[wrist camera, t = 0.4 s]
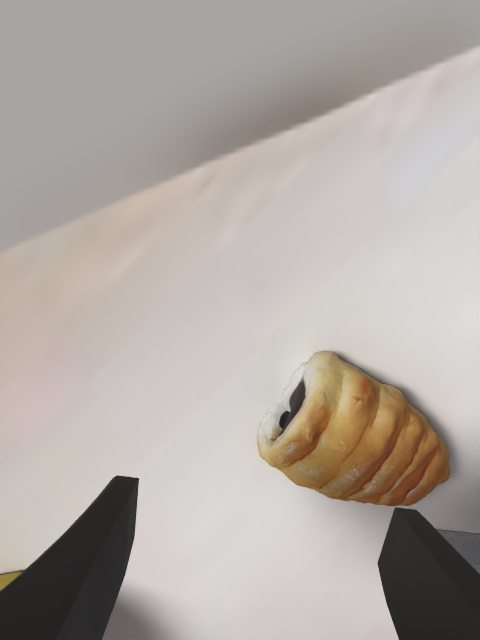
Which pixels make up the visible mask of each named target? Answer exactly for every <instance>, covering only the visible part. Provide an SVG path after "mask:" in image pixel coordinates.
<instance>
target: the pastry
mask: <svg viewBox="0 0 480 640" xmlns="http://www.w3.org/2000/svg"><path fill="white" fill-rule="evenodd" d="M257 443H258V450H259V454H260V456H261V458H262V459H264V460H265V461H266V462H267V463H268V464H269V465H270V466H271V467H276V468H277V469H279V470H281V471H282V472H283V473H284V474H285V475H286V476H287V477H288V478H289V479H290V480H291V481H292V482H294V483H295V484H297V485H299V486H303V487H307V488H310V489H314V490H316V491H318V492H319V493H322V494H324V495H325V496H327V497H329V498H333V499H340V500H344V501H350V500H354V501H357V502H362V503H373V504H376V505H387V506H395V505H405V506H409V505H412V504H414V503H417V502H418V501H420V500H421V499H422V498H424V497H425V496H426V495H427V494H428V493H430V492H431V491H432V490H433V489H434V488H435V487H436V486H437V485H438V484H440V483H443V482H445V481H446V480H447V479H448V478H449V475H450V467H449V454H448V450H447V447H446V444H445V443H444V441H443V440H442V439H441V438H440V437H439V436H438V435H437V434H436V433H435V431H434V430H433V429H432V428H431V426H430V425H429V422H428V421H427V419H426V418H425V417H424V416H423V415H422V414H421V413H420V412H419V411H418V410H417V409H415V408H414V407H412V406H411V405H410V404H409V403H408V402H407V401H406V400H405V398H404V395H403V394H402V393H401V391H400V390H398V389H397V388H395V387H394V386H391V385H388V384H382V383H379V382H378V381H376V380H375V379H373V378H371V377H369V376H368V375H367V374H366V373H364V372H363V371H362V370H360V369H359V368H357V367H355V366H354V365H352V364H349V363H346V362H344V361H342V360H341V359H340V358H339V357H338V356H337V355H336V354H335V353H333V352H328V351H320V352H317V353H315V354H313V356H311V357H310V359H309V361H308V362H306V363H302V364H301V365H300V366H299V367H298V368H297V369H296V371H295V372H294V373H293V374H292V376H291V377H290V380H289V382H288V384H287V386H286V387H285V389H284V392H283V394H282V397H281V399H280V401H279V402H277V403H276V404H275V405H273V406H272V407H271V408H270V409H269V410H268V411H267V413H266V414H265V416H264V418H263V419H262V421H261V422H260V424H259V428H258V435H257Z"/></svg>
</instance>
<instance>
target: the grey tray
mask: <svg viewBox="0 0 480 640" xmlns="http://www.w3.org/2000/svg"><path fill="white" fill-rule="evenodd" d="M437 531H438V532H439V533H440V534H441V535H442V536H443V537H444V538H445V539H446V540H447V541H448V542H449V543H450V544H451V545H452V546H453V547H454V548H455V549H456V551H457V552H458V553H459V554H460V555H461V556H462V557H463V558H464V559H465V560H466V561H467V562H468V563H469V564H470V565H471V566H472V567H473V568H474V569H475V570H476V571H477V572H478V573H479V574H480V534H473V533H463V532H453V531H443V530H437Z"/></svg>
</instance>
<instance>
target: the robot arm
mask: <svg viewBox="0 0 480 640" xmlns="http://www.w3.org/2000/svg"><path fill="white" fill-rule="evenodd" d="M138 483H139V478H133V477H125V476H115V477H114V478H113V479H112V480H111V481H110V482H109V484H108V485H107V486H106V487H105V489H104V490H103V491H102V492H101V493H100V495H99V496H98V497H97V498H96V499H95V500H94V502H93V503H92V504H91V505H90V506H89V507H88V508H87V510H86V511H85V512H84V513H83V514H82V515H81V516H80V517H79V518H78V519H77V520H76V521H75V522H74V523H73V524H72V526H71V527H70V528H69V529H68V530H67V531H66V532H65V533H64V534H63V535H62V536H61V537H60V538H59V539H58V540H57V541H56V542H55V543H54V544H52V545H51V546H50V547H49V548H48V549H47V550H46V551H45V552H44V553H43V554H42V555H41V556H40V557H39V558H38V559H37V560H36V561H35V562H33V563H32V564H31V565H30V566H29V567H28V568H27V569H26V570H24V571H23V572H22V573H21V574H20V575H19V576H17V577H16V578H15V579H14V580H13V581H11V582H10V583H9V584H8V585H6V586H5V587H4V588H3V589H2V590H0V640H102V638H103V635H104V632H105V629H106V627H107V624H108V621H109V618H110V615H111V613H112V610H113V607H114V604H115V602H116V599H117V596H118V593H119V590H120V587H121V585H122V582H123V579H124V576H125V572H126V569H127V565H128V561H129V557H130V553H131V549H132V545H133V540H134V536H135V522H136V509H137V496H138ZM378 567H379V572H380V577H381V581H382V586H383V590H384V594H385V598H386V602H387V606H388V609H389V612H390V615H391V617H392V620H393V623H394V626H395V629H396V632H397V635H398V638H399V640H480V574H479V573H478V572H477V571H476V570H475V569H474V568H473V567H472V566H471V565H470V564H469V563H468V562H467V561H466V560H465V559H464V558H463V557H462V556H461V555H460V554H459V553H458V552H457V551H456V549H455V548H454V547H453V546H452V545H451V544H450V543H449V542H448V541H447V540H446V539H445V538H444V537H443V536H442V535H441V534H440V533H439V532H438V531H437V530H436V529H435V528H434V527H433V526H432V525H431V524H430V523H429V522H428V521H427V520H426V519H425V518H424V517H423V516H422V515H421V514H420V513H419V512H418V511H417V510H413V509H404V508H395V509H394V512H393V515H392V519H391V522H390V525H389V528H388V532H387V535H386V538H385V541H384V544H383V548H382V551H381V554H380V557H379V560H378Z"/></svg>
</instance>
